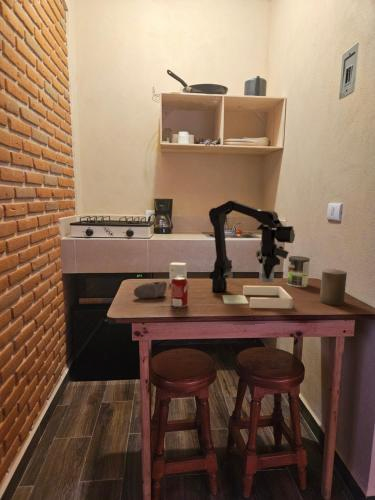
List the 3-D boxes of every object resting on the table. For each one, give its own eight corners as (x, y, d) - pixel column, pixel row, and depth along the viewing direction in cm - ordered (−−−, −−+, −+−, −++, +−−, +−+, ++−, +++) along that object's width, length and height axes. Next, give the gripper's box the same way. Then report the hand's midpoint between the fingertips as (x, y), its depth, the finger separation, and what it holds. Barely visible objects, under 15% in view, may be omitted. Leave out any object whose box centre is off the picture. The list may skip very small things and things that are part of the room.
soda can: (181, 309, 125) (181, 280, 123) (167, 306, 128) (167, 278, 126) (190, 304, 131) (190, 276, 129) (177, 301, 134) (177, 274, 132)
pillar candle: (345, 306, 130) (348, 271, 128) (319, 303, 134) (322, 269, 131) (342, 300, 139) (345, 267, 137) (318, 297, 143) (321, 265, 140)
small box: (186, 282, 165) (186, 262, 163) (184, 285, 160) (184, 265, 158) (171, 281, 167) (172, 261, 165) (169, 284, 161) (169, 264, 159)
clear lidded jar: (292, 287, 158) (293, 260, 155) (283, 282, 168) (285, 256, 165) (311, 287, 159) (313, 259, 156) (302, 281, 169) (303, 255, 166)
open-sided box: (250, 307, 128) (250, 298, 127) (242, 294, 146) (243, 285, 145) (292, 308, 128) (293, 299, 127) (280, 294, 146) (280, 286, 145)
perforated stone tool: (134, 300, 135) (134, 285, 134) (133, 297, 140) (133, 282, 139) (168, 298, 139) (168, 283, 138) (166, 294, 144) (166, 280, 143)
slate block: (261, 282, 133) (262, 265, 132) (259, 279, 138) (259, 263, 137) (273, 282, 133) (274, 266, 132) (270, 279, 138) (271, 263, 137)
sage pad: (224, 303, 132) (224, 302, 132) (222, 296, 142) (222, 295, 142) (248, 304, 132) (248, 302, 132) (244, 296, 142) (244, 295, 142)
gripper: (294, 244, 123) (291, 283, 126) (281, 238, 142) (279, 272, 144) (265, 244, 123) (263, 282, 126) (256, 238, 142) (254, 271, 144)
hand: (266, 276), depth 135 cm, fingers closed on slate block, 5 cm apart
